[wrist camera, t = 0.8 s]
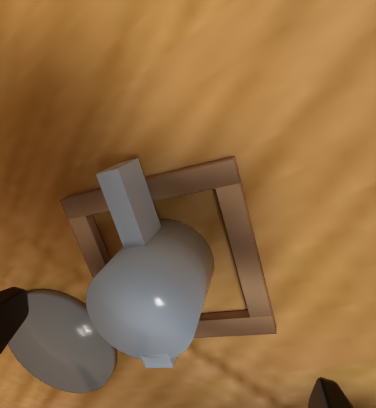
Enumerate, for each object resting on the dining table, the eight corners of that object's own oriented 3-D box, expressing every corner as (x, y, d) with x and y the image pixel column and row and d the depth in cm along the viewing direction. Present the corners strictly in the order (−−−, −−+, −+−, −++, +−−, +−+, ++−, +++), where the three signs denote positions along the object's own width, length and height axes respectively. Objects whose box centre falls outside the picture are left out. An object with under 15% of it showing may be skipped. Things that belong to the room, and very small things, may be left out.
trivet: (133, 385, 28) (130, 393, 27) (39, 385, 31) (34, 392, 30) (89, 283, 25) (84, 288, 24) (-9, 295, 28) (-17, 301, 27)
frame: (276, 325, 22) (276, 333, 21) (124, 334, 26) (119, 341, 25) (234, 156, 18) (233, 159, 18) (66, 196, 22) (60, 200, 22)
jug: (225, 298, 22) (211, 366, 17) (147, 305, 24) (112, 368, 19) (180, 144, 19) (145, 166, 14) (95, 167, 21) (34, 194, 16)
